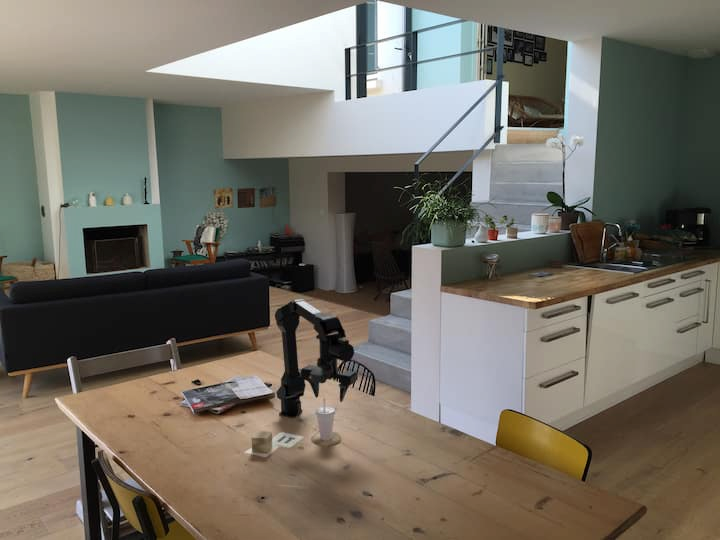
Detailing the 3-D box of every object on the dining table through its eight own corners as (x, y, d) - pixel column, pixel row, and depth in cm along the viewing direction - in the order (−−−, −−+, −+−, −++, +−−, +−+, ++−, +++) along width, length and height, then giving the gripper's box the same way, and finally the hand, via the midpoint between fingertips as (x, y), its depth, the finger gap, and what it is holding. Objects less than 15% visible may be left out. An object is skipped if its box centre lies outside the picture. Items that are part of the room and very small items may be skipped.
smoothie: (312, 439, 196) (311, 399, 194) (322, 432, 202) (321, 392, 200) (329, 443, 193) (328, 402, 191) (339, 436, 199) (338, 395, 197)
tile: (244, 453, 188) (244, 452, 188) (258, 442, 196) (258, 442, 196) (265, 457, 185) (265, 457, 185) (279, 447, 192) (279, 446, 192)
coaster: (305, 442, 195) (305, 441, 195) (320, 430, 204) (320, 429, 204) (332, 448, 191) (332, 447, 191) (346, 435, 200) (346, 434, 200)
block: (252, 452, 188) (251, 437, 188) (257, 445, 193) (256, 430, 192) (267, 453, 188) (266, 438, 187) (272, 446, 192) (271, 431, 192)
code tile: (266, 443, 195) (266, 442, 195) (281, 432, 203) (281, 431, 203) (290, 448, 191) (290, 447, 191) (304, 437, 199) (304, 436, 199)
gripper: (290, 357, 192) (291, 403, 195) (342, 365, 184) (343, 413, 187) (308, 347, 202) (309, 392, 205) (358, 355, 194) (358, 400, 197)
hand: (329, 399), depth 198 cm, fingers open, 9 cm apart
